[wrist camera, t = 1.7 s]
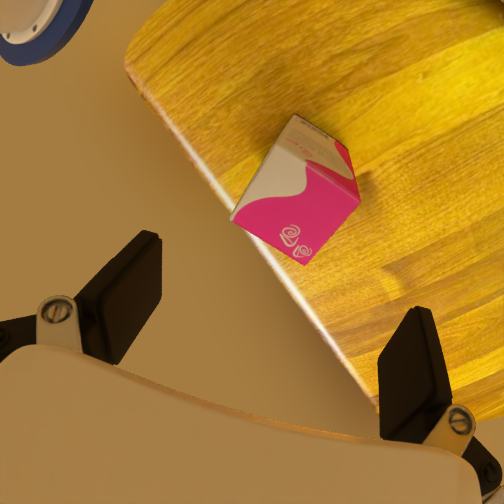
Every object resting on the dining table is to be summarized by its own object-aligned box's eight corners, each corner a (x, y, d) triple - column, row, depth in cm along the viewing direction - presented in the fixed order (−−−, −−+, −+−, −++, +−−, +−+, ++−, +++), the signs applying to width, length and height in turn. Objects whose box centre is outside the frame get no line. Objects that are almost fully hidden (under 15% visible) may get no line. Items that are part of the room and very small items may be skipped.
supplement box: (260, 165, 28) (223, 219, 19) (295, 111, 25) (277, 136, 16) (312, 199, 29) (305, 270, 19) (350, 149, 26) (366, 198, 16)
